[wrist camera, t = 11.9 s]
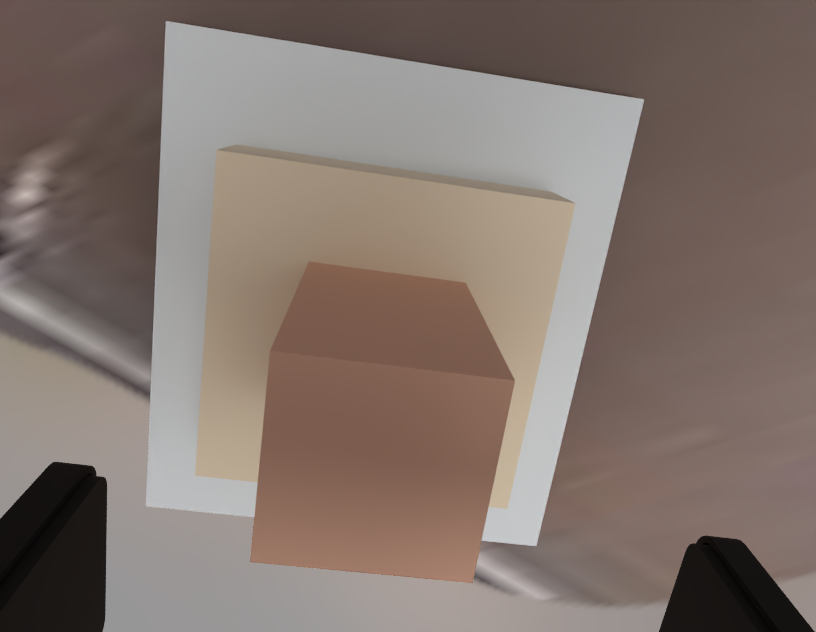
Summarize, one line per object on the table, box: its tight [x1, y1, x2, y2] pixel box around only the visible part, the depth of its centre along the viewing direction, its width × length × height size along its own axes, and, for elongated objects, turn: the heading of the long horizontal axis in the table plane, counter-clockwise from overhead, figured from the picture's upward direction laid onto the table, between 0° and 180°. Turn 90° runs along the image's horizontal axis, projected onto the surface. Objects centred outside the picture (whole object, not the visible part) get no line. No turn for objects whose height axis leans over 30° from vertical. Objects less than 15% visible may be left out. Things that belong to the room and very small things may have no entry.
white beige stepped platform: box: [146, 21, 644, 546], centre depth 24 cm, size 18×16×4 cm
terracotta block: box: [250, 262, 515, 583], centre depth 18 cm, size 5×5×8 cm
